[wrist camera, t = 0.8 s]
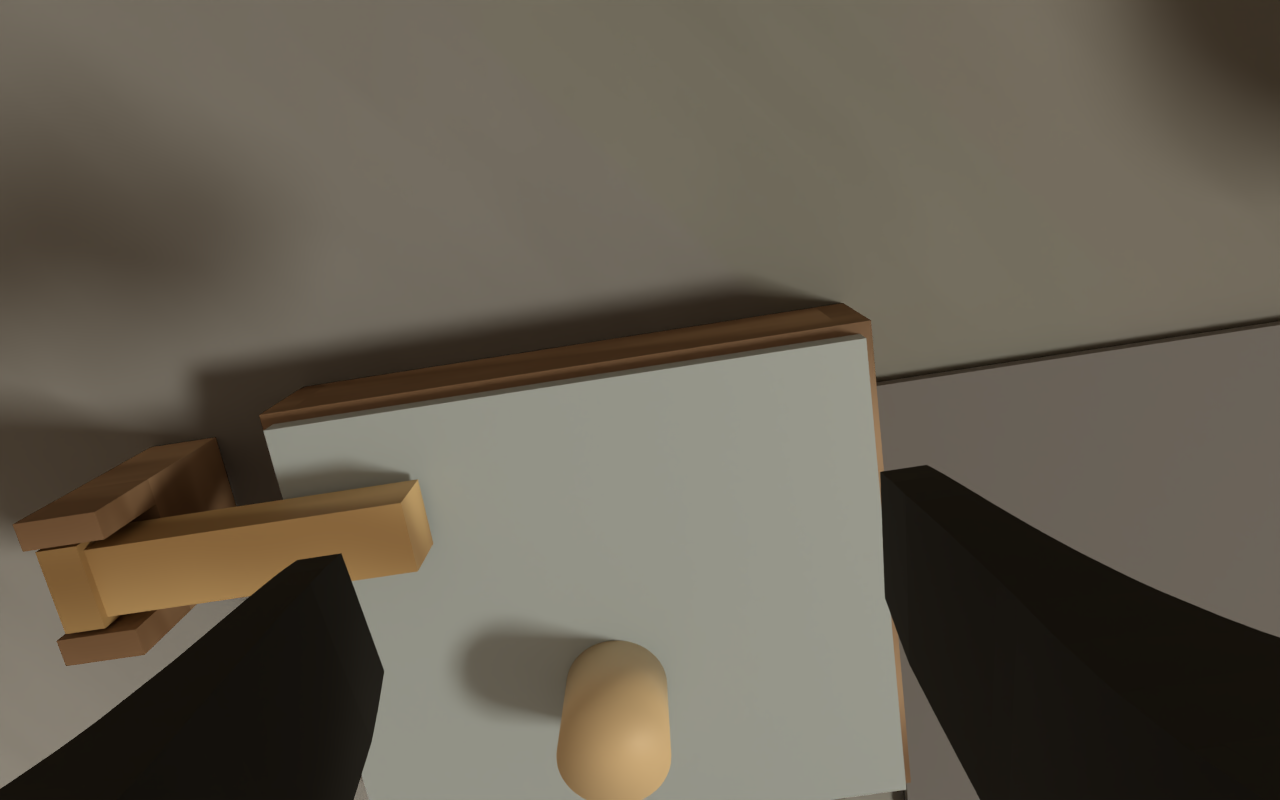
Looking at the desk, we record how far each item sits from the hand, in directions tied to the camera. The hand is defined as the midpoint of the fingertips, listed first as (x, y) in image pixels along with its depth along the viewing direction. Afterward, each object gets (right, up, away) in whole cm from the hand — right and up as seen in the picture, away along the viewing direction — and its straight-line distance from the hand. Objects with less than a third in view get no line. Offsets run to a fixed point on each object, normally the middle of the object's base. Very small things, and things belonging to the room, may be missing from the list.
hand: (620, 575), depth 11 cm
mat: (+17, -3, +15) cm, 23 cm away
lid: (-1, -4, +12) cm, 13 cm away
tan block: (-10, -1, +11) cm, 14 cm away
